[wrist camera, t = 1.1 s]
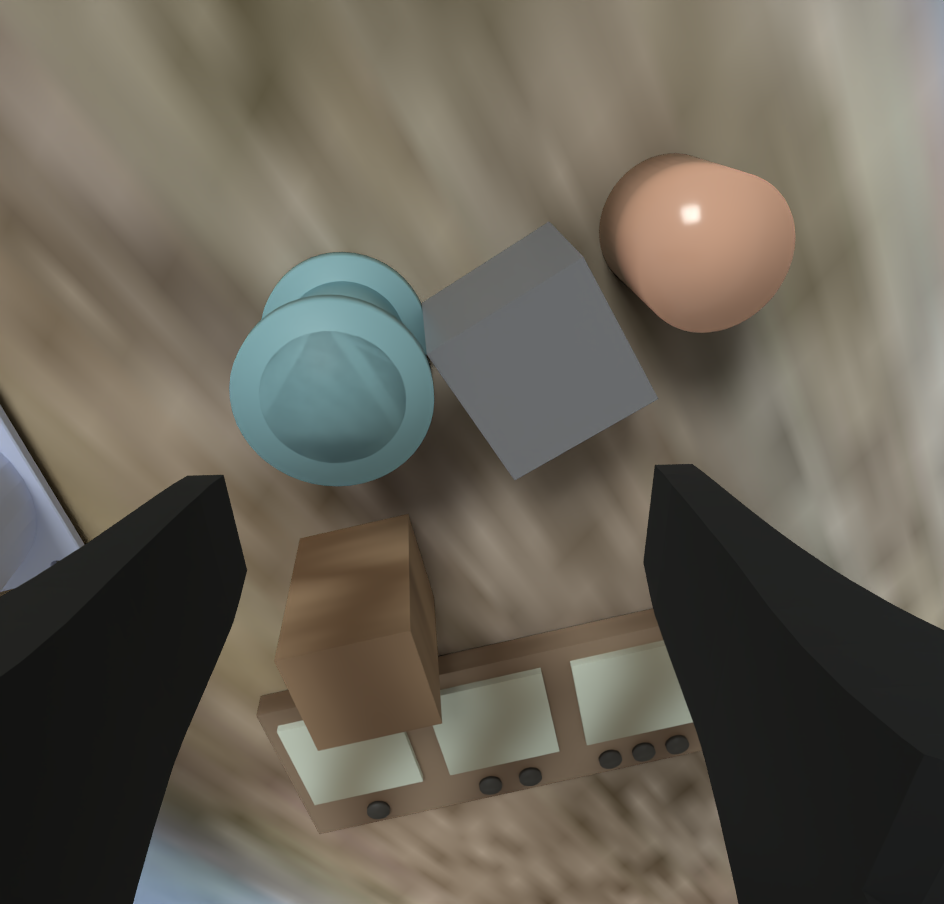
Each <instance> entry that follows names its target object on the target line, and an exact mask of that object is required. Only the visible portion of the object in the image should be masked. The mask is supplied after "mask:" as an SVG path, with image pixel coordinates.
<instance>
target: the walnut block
mask: <svg viewBox="0 0 944 904" xmlns="http://www.w3.org/2000/svg"><path fill="white" fill-rule="evenodd" d="M274 662H275V664H276V666H277V668H278V670H279V672H280V674H281V676H282V678H283V680H284V682H285V684H286V686H287V688H288V690H289V692H290V695H291V697H292V699H293V701H294V703H295V705H296V707H297V709H298V711H299V713H300V715H301V717H302V719H303V721H304V723H305V725H306V727H307V729H308V732H309V734H310V736H311V738H312V740H313V742H314V744H315V746H316V748H317V750H318V751H321V750H325V749H330V748H334V747H339V746H343V745H348V744H352V743H357V742H361V741H366V740H370V739H375V738H379V737H384V736H388V735H393V734H397V733H402V732H407V731H411V730H416V729H420V728H425V727H429V726H434V725H438V724H442V713H441V697H440V682H439V667H438V651H437V636H436V621H435V605H434V596H433V593H432V589H431V586H430V583H429V580H428V577H427V573H426V570H425V567H424V564H423V560H422V557H421V554H420V551H419V548H418V544H417V541H416V538H415V535H414V532H413V528H412V525H411V522H410V519H409V515H408V514H406V515H401V516H397V517H393V518H388V519H384V520H379V521H375V522H371V523H366V524H362V525H357V526H353V527H349V528H344V529H340V530H336V531H331V532H327V533H322V534H318V535H314V536H309V537H305V538H301V539H300V541H299V546H298V551H297V555H296V560H295V565H294V570H293V574H292V579H291V584H290V589H289V593H288V598H287V603H286V608H285V612H284V617H283V622H282V627H281V631H280V636H279V641H278V646H277V650H276V655H275V660H274Z"/></svg>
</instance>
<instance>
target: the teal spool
mask: <svg viewBox="0 0 944 904" xmlns="http://www.w3.org/2000/svg"><path fill="white" fill-rule="evenodd" d="M426 355H427V352H426V342H425V331H424V321H423V311H422V304H421V302H420V300H419V298H418V296H417V294H416V293H415V291H414V290H413V288H412V287H411V286H410V284H409V283H408V282H407V281H406V280H405V279H404V278H403V277H402V276H401V275H400V274H399V273H398V272H397V271H395V270H394V269H392V268H391V267H389V266H388V265H387V264H385V263H383V262H381V261H379V260H377V259H374V258H371V257H369V256H366V255H361V254H357V253H349V252H332V253H326V254H321V255H318V256H315V257H312V258H309V259H307V260H305V261H303V262H301V263H299V264H298V265H296V266H295V267H293V268H292V269H291V270H290V271H289V272H287V273H286V274H285V275H284V276H283V277H282V279H281V280H280V281H279V282H278V283H277V285H276V287H275V288H274V290H273V292H272V293H271V295H270V297H269V299H268V301H267V303H266V306H265V308H264V312H263V316H262V320H261V321H259V322H258V323H257V325H256V326H255V327H254V328H253V329H252V330H251V332H250V333H249V335H248V336H247V338H246V340H245V341H244V343H243V345H242V346H241V348H240V350H239V352H238V354H237V356H236V359H235V361H234V364H233V368H232V372H231V376H230V387H229V389H230V402H231V407H232V412H233V415H234V417H235V420H236V423H237V425H238V427H239V429H240V431H241V433H242V435H243V436H244V438H245V439H246V441H247V442H248V443H249V445H250V446H251V447H252V448H253V449H254V450H255V452H256V453H257V454H258V455H259V456H260V457H262V458H263V459H264V460H265V461H266V462H267V463H269V464H270V465H272V466H273V467H275V468H276V469H278V470H279V471H281V472H283V473H285V474H287V475H289V476H291V477H294V478H296V479H299V480H301V481H305V482H309V483H312V484H318V485H325V486H350V485H356V484H362V483H365V482H369V481H372V480H375V479H377V478H380V477H382V476H384V475H386V474H388V473H390V472H392V471H393V470H395V469H396V468H398V467H399V466H400V465H402V464H403V463H404V462H405V461H406V460H407V459H408V458H409V457H410V456H411V455H413V453H414V452H415V451H416V450H417V448H418V447H419V446H420V444H421V443H422V441H423V439H424V437H425V436H426V433H427V431H428V428H429V426H430V423H431V419H432V415H433V408H434V388H433V379H432V374H431V369H430V365H429V362H428V360H427V357H426Z"/></svg>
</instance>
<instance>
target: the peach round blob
mask: <svg viewBox="0 0 944 904" xmlns="http://www.w3.org/2000/svg"><path fill="white" fill-rule="evenodd" d="M599 238H600V245H601V250H602V253H603V256H604V258H605V260H606V262H607V264H608V266H609V267H610V269H611V270H612V271H613V272H614V274H615V275H616V276H617V277H618V278H619V279H620V280H621V281H622V282H623V283H624V284H626V285H627V286H628V287H629V288H630V289H631V290H632V291H633V292H634V293H635V294H636V295H637V296H638V297H639V298H640V299H641V300H642V301H643V302H644V303H645V304H646V305H647V306H648V307H649V308H650V309H651V310H652V311H654V312H655V313H656V314H657V315H658V316H659V317H660V318H661V319H662V320H664V321H665V322H666V323H668V324H670V325H672V326H673V327H676V328H679V329H681V330H685V331H689V332H698V333H706V332H715V331H720V330H724V329H727V328H730V327H733V326H735V325H737V324H739V323H741V322H743V321H745V320H747V319H748V318H750V317H751V316H753V315H754V314H755V313H757V312H758V311H759V310H760V309H761V308H762V307H764V306H765V305H766V304H767V302H768V301H769V300H770V299H771V298H772V297H773V296H774V294H775V293H776V292H777V290H778V289H779V287H780V286H781V284H782V282H783V281H784V279H785V277H786V275H787V272H788V270H789V267H790V264H791V261H792V258H793V253H794V248H795V226H794V221H793V217H792V214H791V211H790V208H789V206H788V204H787V202H786V200H785V199H784V198H783V196H782V195H781V193H780V192H779V191H778V190H777V189H776V188H775V187H774V186H773V185H771V184H770V183H768V182H767V181H766V180H764V179H762V178H760V177H758V176H755V175H752V174H749V173H746V172H742V171H739V170H736V169H733V168H729V167H726V166H723V165H720V164H716V163H713V162H710V161H707V160H703V159H700V158H697V157H693V156H690V155H686V154H679V153H672V154H663V155H658V156H655V157H652V158H649V159H647V160H645V161H643V162H641V163H639V164H638V165H636V166H635V167H633V168H632V169H631V170H629V171H628V172H627V173H626V174H625V175H624V176H623V177H622V178H621V179H620V180H619V181H618V183H617V184H616V185H615V186H614V188H613V189H612V191H611V193H610V194H609V196H608V198H607V200H606V203H605V205H604V208H603V211H602V214H601V219H600V227H599Z"/></svg>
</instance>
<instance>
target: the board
mask: <svg viewBox="0 0 944 904" xmlns="http://www.w3.org/2000/svg"><path fill="white" fill-rule="evenodd" d="M438 667H439V682H440V697H441V713H442V724H438V725H434V726H429V727H425V728H420V729H416V730H411V731H407V732H402V733H397V734H393V735H388V736H384V737H379V738H375V739H370V740H366V741H361V742H357V743H352V744H348V745H343V746H339V747H334V748H330V749H325V750H321V751H318V750H317V748H316V746H315V744H314V742H313V740H312V738H311V736H310V734H309V732H308V729H307V727H306V725H305V723H304V721H303V719H302V717H301V715H300V713H299V711H298V709H297V707H296V705H295V703H294V701H293V699H292V697H291V695H290V692H289V690H286V691H282V692H277V693H273V694H268V695H264V696H261V698H260V702H259V707H258V711H257V718H258V720H259V722H260V723H261V725H262V727H263V729H264V731H265V733H266V735H267V737H268V738H269V740H270V742H271V744H272V746H273V748H274V750H275V752H276V753H277V755H278V757H279V759H280V761H281V763H282V765H283V767H284V769H285V770H286V772H287V774H288V776H289V778H290V780H291V782H292V784H293V785H294V787H295V789H296V791H297V793H298V795H299V797H300V799H301V800H302V802H303V804H304V806H305V808H306V810H307V812H308V814H309V816H310V817H311V819H312V821H313V823H314V825H315V827H316V829H317V831H318V832H319V834H322V833H327V832H331V831H336V830H341V829H345V828H350V827H354V826H359V825H363V824H368V823H373V822H377V821H382V820H386V819H391V818H396V817H400V816H405V815H409V814H414V813H418V812H423V811H428V810H432V809H437V808H441V807H446V806H450V805H455V804H460V803H464V802H469V801H473V800H478V799H483V798H487V797H492V796H496V795H501V794H505V793H510V792H515V791H519V790H524V789H528V788H533V787H537V786H542V785H547V784H551V783H556V782H560V781H565V780H570V779H574V778H579V777H583V776H588V775H592V774H597V773H602V772H606V771H611V770H615V769H620V768H625V767H629V766H634V765H638V764H643V763H647V762H652V761H657V760H661V759H666V758H670V757H675V756H679V755H684V754H689V753H693V752H698V751H702V748H701V745H700V742H699V739H698V735H697V732H696V729H695V726H694V724H693V721H692V718H691V715H690V712H689V710H688V707H687V704H686V701H685V699H684V696H683V693H682V690H681V688H680V685H679V682H678V679H677V677H676V674H675V671H674V668H673V665H672V663H671V660H670V657H669V654H668V652H667V649H666V646H665V643H664V640H663V637H662V635H661V632H660V629H659V626H658V623H657V620H656V617H655V614H654V610H653V609H649V610H644V611H640V612H635V613H631V614H626V615H622V616H617V617H613V618H608V619H604V620H599V621H595V622H591V623H586V624H582V625H577V626H573V627H568V628H564V629H559V630H555V631H550V632H546V633H541V634H537V635H532V636H528V637H523V638H519V639H514V640H510V641H505V642H501V643H497V644H492V645H488V646H483V647H479V648H474V649H470V650H465V651H461V652H456V653H452V654H447V655H443V656H438Z"/></svg>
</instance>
